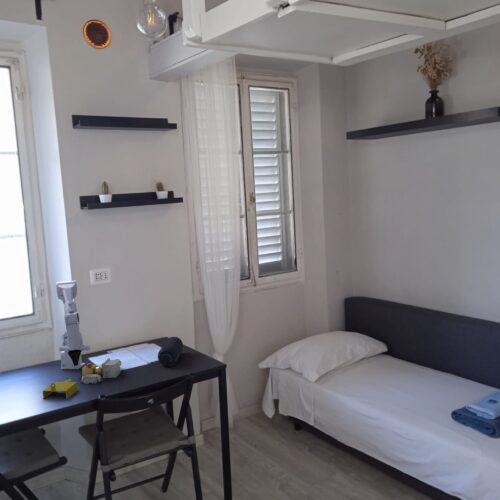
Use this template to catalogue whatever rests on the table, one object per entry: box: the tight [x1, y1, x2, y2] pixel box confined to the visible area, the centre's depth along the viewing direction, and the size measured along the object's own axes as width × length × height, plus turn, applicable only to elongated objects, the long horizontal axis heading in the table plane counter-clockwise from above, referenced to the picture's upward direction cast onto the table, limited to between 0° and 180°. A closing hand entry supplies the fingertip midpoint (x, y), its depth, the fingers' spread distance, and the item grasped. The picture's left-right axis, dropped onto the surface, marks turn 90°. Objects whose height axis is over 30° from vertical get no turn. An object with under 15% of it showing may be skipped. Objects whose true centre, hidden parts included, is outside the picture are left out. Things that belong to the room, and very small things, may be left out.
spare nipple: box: [81, 374, 102, 385], centre depth 244 cm, size 8×3×3 cm, turn 87°
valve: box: [81, 362, 102, 376], centre depth 253 cm, size 9×5×6 cm, turn 84°
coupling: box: [101, 358, 122, 379], centre depth 255 cm, size 6×14×7 cm, turn 175°
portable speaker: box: [157, 336, 184, 367], centre depth 270 cm, size 25×10×10 cm, turn 178°
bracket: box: [42, 378, 78, 400], centre depth 232 cm, size 16×8×15 cm
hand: (76, 365), depth 254 cm, fingers closed
